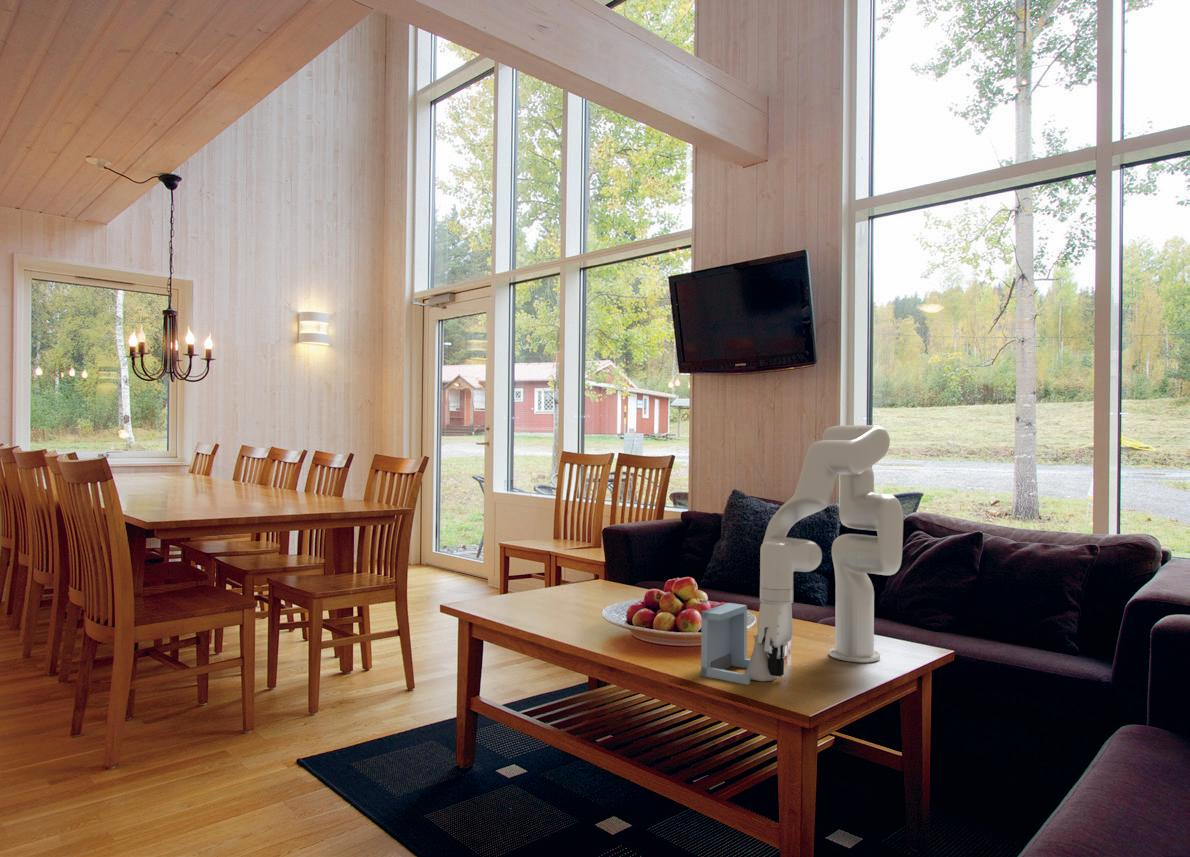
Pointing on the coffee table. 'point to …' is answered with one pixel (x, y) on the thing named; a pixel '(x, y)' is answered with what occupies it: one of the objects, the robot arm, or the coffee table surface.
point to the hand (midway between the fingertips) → (775, 674)
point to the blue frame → (724, 642)
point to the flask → (759, 664)
